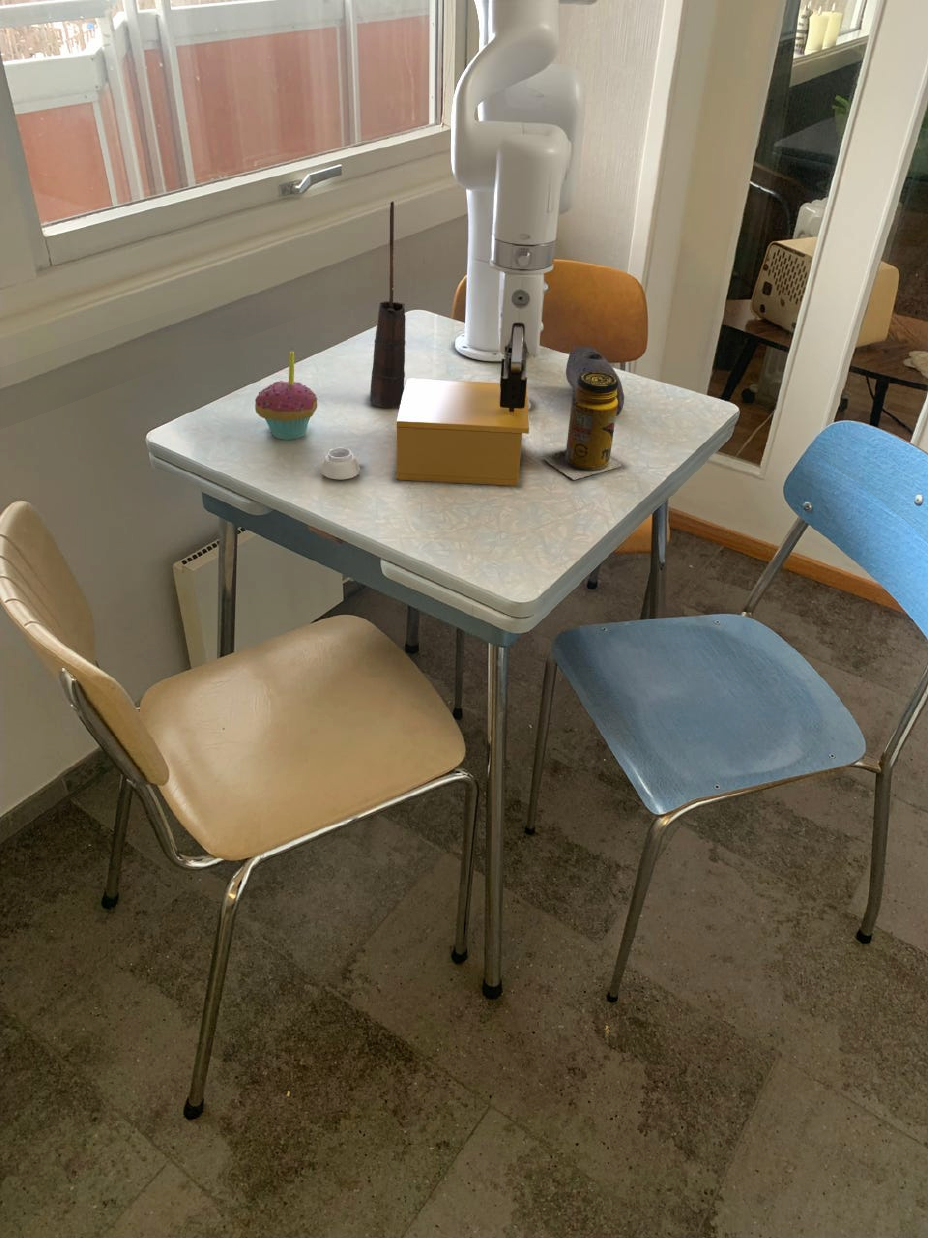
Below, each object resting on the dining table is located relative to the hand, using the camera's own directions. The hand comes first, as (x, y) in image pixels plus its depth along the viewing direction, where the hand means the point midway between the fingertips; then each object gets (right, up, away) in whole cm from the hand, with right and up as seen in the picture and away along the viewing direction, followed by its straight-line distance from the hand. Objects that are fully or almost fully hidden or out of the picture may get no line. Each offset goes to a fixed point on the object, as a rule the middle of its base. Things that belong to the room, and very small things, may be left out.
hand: (512, 396), depth 119 cm
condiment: (+10, -8, +6) cm, 14 cm away
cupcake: (-31, -3, +10) cm, 33 cm away
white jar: (-23, -10, +1) cm, 25 cm away
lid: (-6, -1, +1) cm, 6 cm away
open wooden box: (-7, -7, +6) cm, 11 cm away
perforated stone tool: (+14, +4, +22) cm, 26 cm away
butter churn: (-18, +3, +19) cm, 26 cm away
